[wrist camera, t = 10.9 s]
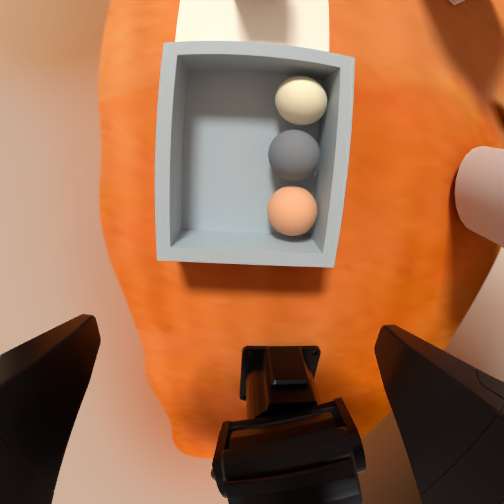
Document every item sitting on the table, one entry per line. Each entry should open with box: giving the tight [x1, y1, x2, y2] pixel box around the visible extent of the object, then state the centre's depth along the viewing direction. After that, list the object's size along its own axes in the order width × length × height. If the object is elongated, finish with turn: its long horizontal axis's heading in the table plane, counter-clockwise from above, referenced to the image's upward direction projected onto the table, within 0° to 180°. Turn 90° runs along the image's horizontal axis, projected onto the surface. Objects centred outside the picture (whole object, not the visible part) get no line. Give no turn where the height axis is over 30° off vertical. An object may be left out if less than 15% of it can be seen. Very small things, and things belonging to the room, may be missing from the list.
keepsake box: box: [155, 41, 355, 268], centre depth 16 cm, size 12×10×4 cm
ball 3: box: [267, 185, 318, 236], centre depth 17 cm, size 3×3×3 cm
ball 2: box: [268, 130, 320, 181], centre depth 16 cm, size 3×3×3 cm
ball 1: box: [275, 76, 327, 125], centre depth 15 cm, size 3×3×3 cm
